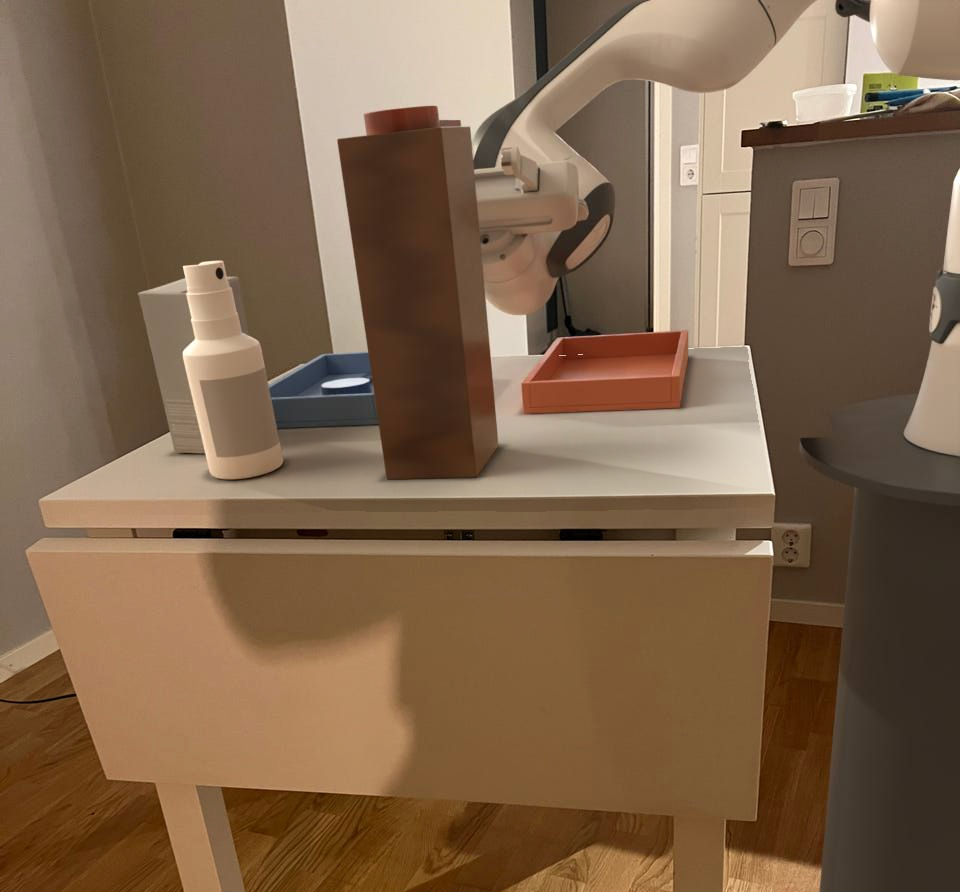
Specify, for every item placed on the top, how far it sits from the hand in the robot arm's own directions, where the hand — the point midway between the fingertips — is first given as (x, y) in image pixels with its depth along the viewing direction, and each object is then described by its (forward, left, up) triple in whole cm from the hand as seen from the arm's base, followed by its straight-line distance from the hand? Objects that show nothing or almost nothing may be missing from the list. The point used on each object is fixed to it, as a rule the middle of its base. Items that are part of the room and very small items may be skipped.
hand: (458, 160), depth 87 cm
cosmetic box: (+26, +7, -24) cm, 36 cm away
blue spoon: (+18, -15, -23) cm, 33 cm away
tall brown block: (0, +15, -24) cm, 28 cm away
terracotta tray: (-12, -12, -24) cm, 29 cm away
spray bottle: (+19, +16, -24) cm, 34 cm away
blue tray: (+18, -10, -24) cm, 31 cm away
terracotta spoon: (0, +10, +2) cm, 10 cm away
